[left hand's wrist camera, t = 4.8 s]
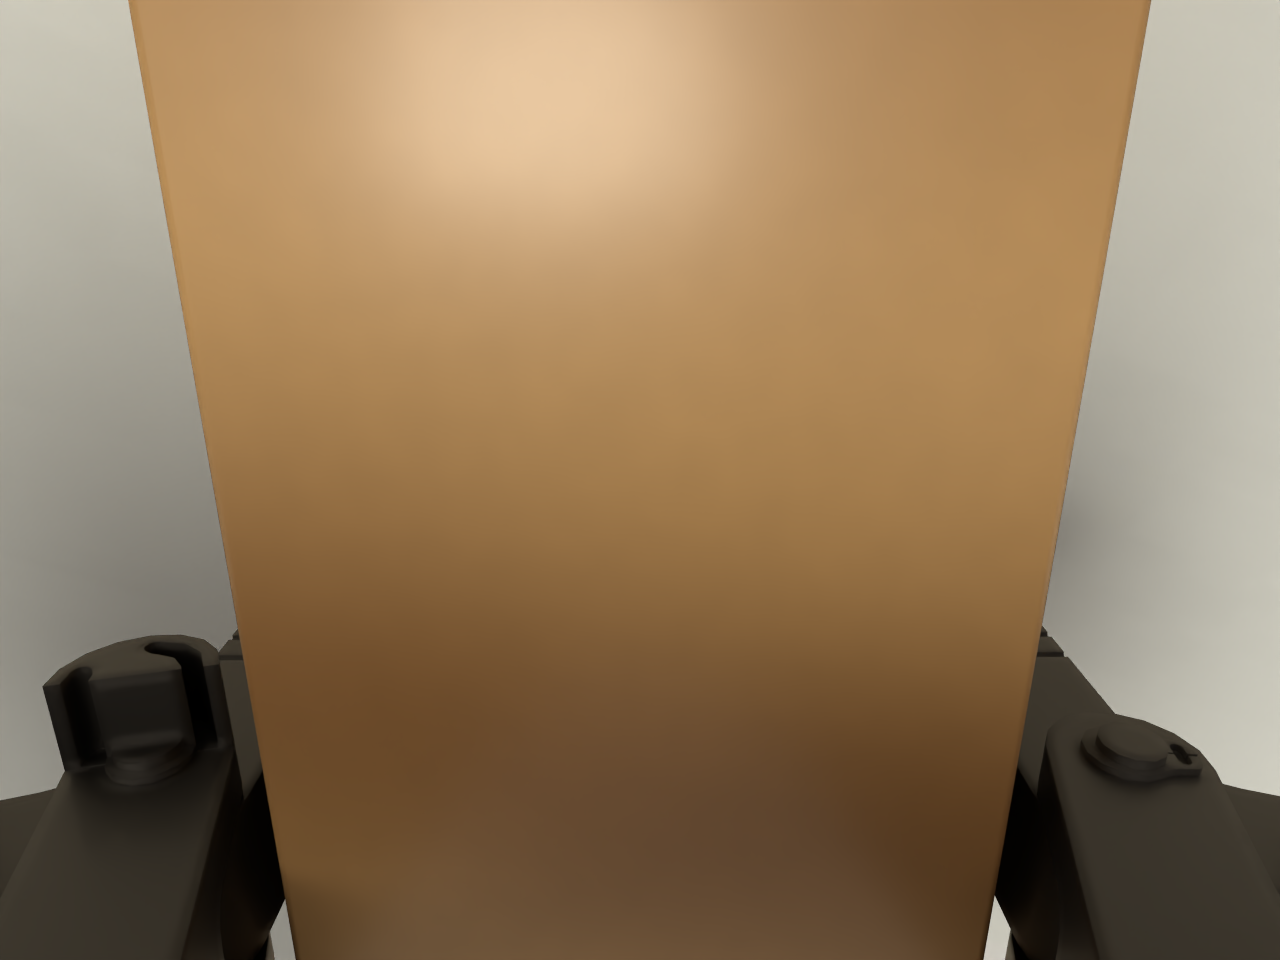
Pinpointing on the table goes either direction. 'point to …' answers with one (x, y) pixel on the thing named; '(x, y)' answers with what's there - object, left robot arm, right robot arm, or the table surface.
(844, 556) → the beam
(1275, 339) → the table surface
